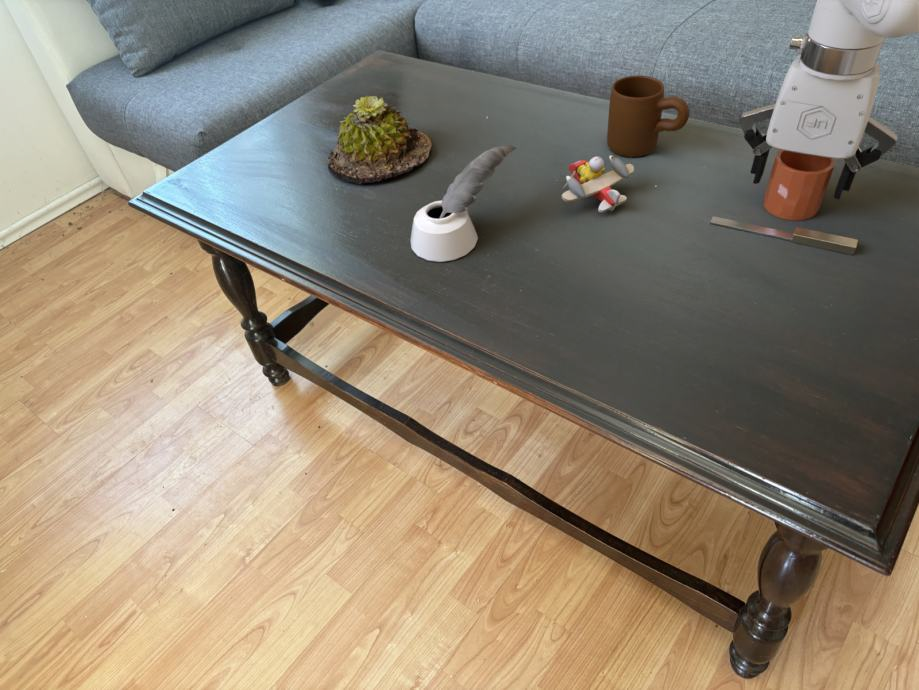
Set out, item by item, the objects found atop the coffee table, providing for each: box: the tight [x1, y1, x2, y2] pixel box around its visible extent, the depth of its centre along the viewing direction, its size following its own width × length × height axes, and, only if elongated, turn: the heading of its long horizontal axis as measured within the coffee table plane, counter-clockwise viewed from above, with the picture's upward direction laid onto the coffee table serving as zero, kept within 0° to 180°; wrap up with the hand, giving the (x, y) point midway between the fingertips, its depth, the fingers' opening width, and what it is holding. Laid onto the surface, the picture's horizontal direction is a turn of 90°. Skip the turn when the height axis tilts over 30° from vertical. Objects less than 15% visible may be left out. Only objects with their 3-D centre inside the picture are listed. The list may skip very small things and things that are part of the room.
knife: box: [709, 215, 859, 256], centre depth 83 cm, size 17×2×1 cm, turn 61°
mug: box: [606, 74, 690, 158], centre depth 96 cm, size 12×8×9 cm, turn 50°
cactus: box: [327, 95, 433, 185], centre depth 102 cm, size 17×16×10 cm
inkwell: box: [410, 144, 517, 263], centre depth 87 cm, size 9×18×10 cm, turn 131°
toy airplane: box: [560, 155, 635, 214], centre depth 89 cm, size 9×9×6 cm
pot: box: [762, 149, 837, 221], centre depth 84 cm, size 7×7×7 cm
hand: (797, 185), depth 85 cm, fingers open, 9 cm apart
